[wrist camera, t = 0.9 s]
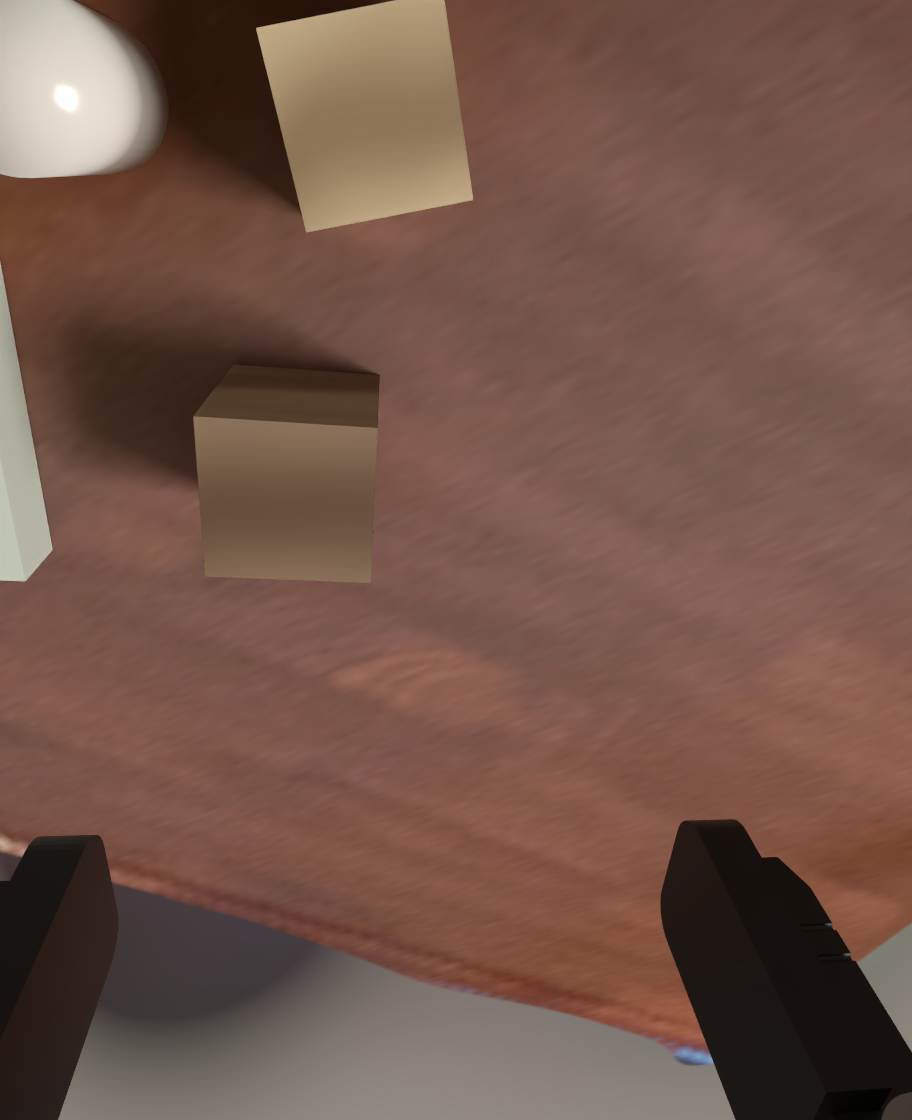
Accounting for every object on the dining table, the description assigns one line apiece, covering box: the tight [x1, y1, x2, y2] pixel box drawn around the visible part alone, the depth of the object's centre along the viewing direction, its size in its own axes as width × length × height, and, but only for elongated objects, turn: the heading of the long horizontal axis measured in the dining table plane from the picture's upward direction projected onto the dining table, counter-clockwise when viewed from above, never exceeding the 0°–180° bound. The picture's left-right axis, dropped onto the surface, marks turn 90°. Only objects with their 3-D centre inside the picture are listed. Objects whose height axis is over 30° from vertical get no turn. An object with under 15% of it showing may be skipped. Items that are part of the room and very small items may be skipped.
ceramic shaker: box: [0, 0, 169, 178], centre depth 19 cm, size 4×4×6 cm
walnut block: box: [193, 364, 380, 583], centre depth 24 cm, size 5×5×6 cm
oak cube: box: [256, 0, 473, 232], centre depth 21 cm, size 4×4×4 cm
